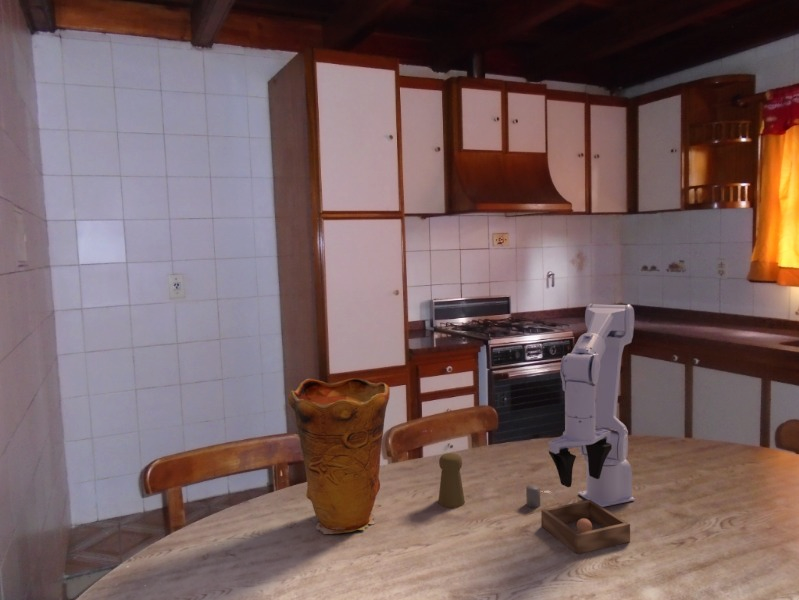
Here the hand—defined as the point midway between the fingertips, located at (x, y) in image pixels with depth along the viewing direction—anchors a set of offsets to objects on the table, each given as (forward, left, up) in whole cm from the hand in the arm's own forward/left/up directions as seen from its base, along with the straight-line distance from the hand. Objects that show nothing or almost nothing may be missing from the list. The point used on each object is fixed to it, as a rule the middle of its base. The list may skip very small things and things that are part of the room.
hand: (580, 481), depth 118 cm
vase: (+43, -22, -11) cm, 49 cm away
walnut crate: (0, +1, -10) cm, 10 cm away
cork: (+18, -23, -11) cm, 31 cm away
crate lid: (+2, -14, -11) cm, 18 cm away
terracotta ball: (0, +1, -10) cm, 11 cm away
